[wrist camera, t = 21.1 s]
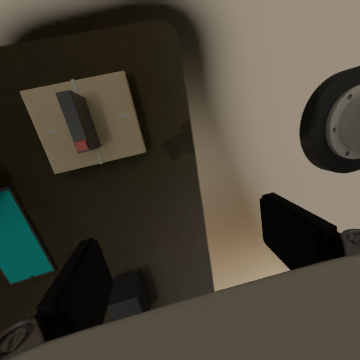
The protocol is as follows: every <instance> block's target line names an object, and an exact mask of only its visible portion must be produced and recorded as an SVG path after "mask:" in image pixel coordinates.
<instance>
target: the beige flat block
mask: <svg viewBox="0 0 360 360" xmlns="http://www.w3.org/2000/svg"><path fill="white" fill-rule="evenodd" d="M67 90H71V91H73V92H75V93H77V94H79V95H81V96H83V97H85V99H86V102H87V105H88V108H89V111H90V114H91V117H92V120H93V123H94V126H95V129H96V132H97V135H98V138H99V141H100V144H101V147H100V148H97V149H94V150H91V151H87V152H83V153H79V154H78V153H77V150H76V147H75V145H74V142H73V139H72V137H71V134H70V131H69V128H68V126H67V123H66V120H65V118H64V115H63V112H62V110H61V107H60V104H59V102H58V99H57V96H56V94H55V93H57V92H62V91H67ZM20 94H21V96H22V98H23V101H24V103H25V105H26V108H27V110H28V112H29V115H30V117H31V119H32V122H33V124H34V126H35V129H36V131H37V133H38V136H39V138H40V140H41V143H42V145H43V147H44V150H45V152H46V154H47V157H48V159H49V162H50V164H51V166H52V169H53V171H54V173H55V174H58V173H62V172H66V171H70V170H75V169H79V168H83V167H87V166H91V165H95V164H103V163H104V162H108V161H112V160H116V159H121V158H125V157H129V156H133V155H137V154H141V153H146V146H145V143H144V139H143V135H142V131H141V128H140V124H139V120H138V117H137V113H136V109H135V105H134V102H133V98H132V94H131V91H130V87H129V83H128V79H127V76H126V74H125V72H124V71H120V72H115V73H110V74H105V75H100V76H95V77H90V78H84V79H79V80H74V79H71V81H69V82H64V83H59V84H54V85H49V86H44V87H39V88H34V89H29V90H24V91H20Z"/></svg>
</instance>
